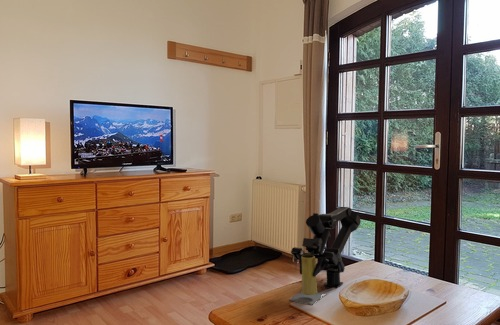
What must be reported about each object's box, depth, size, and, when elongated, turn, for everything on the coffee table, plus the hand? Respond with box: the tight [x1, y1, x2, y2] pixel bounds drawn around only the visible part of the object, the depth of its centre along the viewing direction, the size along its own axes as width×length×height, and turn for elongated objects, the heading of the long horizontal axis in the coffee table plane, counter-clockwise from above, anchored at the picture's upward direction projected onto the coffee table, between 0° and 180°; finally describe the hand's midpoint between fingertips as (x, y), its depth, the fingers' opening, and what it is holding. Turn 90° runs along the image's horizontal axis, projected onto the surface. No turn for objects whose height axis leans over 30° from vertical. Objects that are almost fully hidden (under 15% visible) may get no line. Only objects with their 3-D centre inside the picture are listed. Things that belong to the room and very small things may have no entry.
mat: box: [289, 290, 326, 305], centre depth 158 cm, size 13×10×1 cm
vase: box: [301, 254, 318, 295], centre depth 155 cm, size 6×6×14 cm
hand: (307, 275), depth 154 cm, fingers closed on vase, 5 cm apart
